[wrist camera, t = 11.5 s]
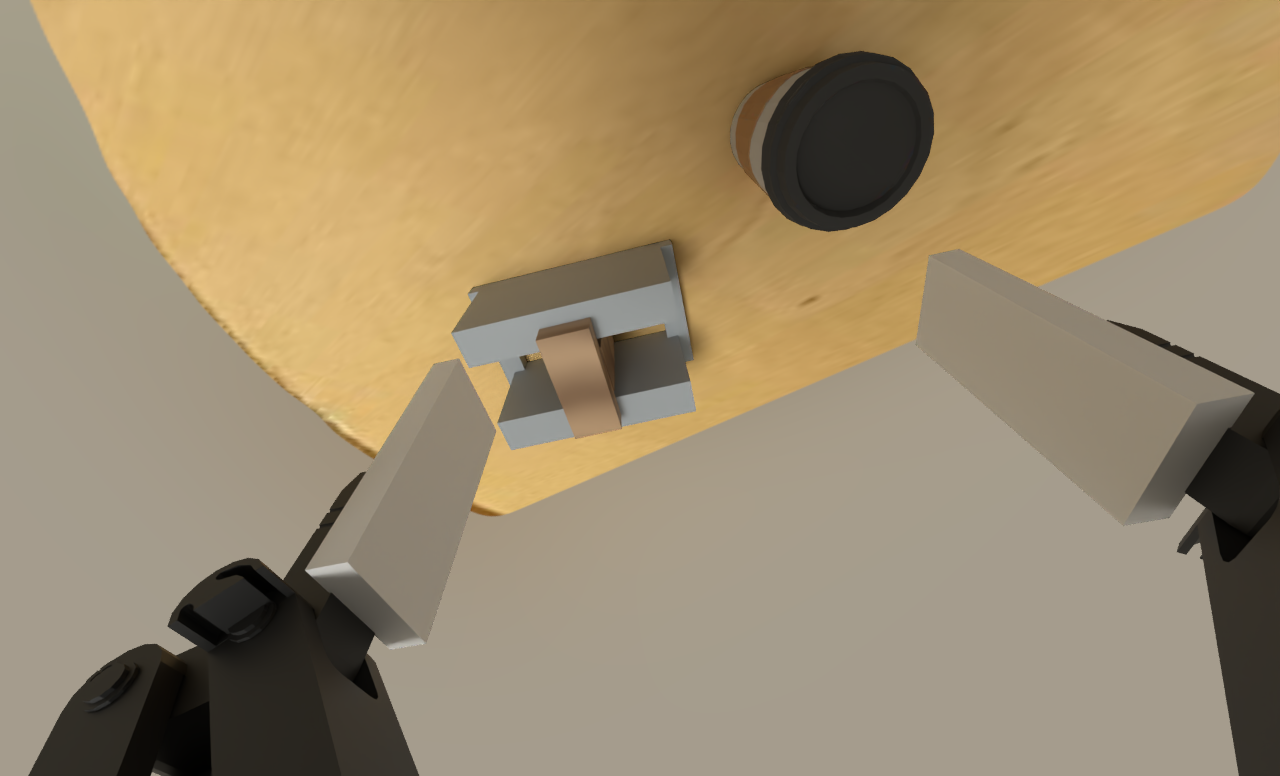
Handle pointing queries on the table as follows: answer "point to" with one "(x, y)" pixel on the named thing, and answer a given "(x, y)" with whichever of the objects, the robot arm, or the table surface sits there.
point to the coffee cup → (836, 139)
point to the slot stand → (616, 303)
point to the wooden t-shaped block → (582, 375)
